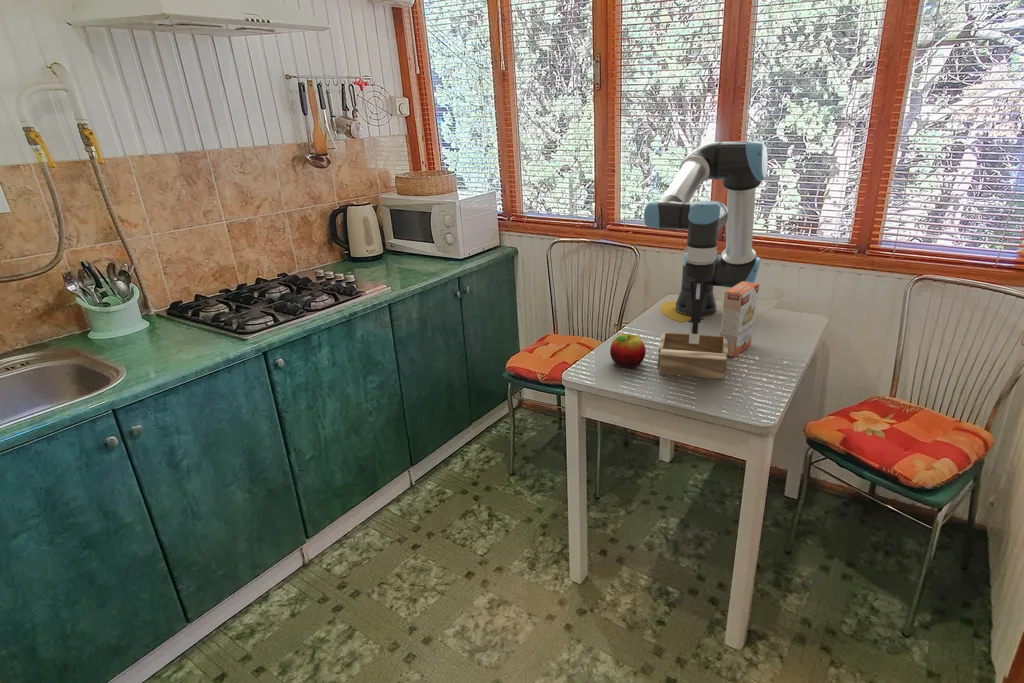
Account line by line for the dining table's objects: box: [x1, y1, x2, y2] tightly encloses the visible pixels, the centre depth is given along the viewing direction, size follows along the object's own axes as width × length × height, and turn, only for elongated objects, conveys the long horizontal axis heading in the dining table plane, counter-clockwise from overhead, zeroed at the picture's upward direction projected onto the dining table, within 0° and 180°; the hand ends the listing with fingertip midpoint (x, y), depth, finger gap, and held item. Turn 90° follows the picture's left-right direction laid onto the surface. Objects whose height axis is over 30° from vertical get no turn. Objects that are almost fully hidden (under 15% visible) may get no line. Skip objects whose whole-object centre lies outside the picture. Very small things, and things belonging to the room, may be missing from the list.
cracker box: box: [719, 281, 760, 358], centre depth 179 cm, size 14×6×21 cm, turn 138°
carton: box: [657, 331, 729, 381], centre depth 170 cm, size 14×19×8 cm
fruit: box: [609, 333, 647, 369], centre depth 174 cm, size 11×11×10 cm
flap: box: [660, 349, 728, 361], centre depth 159 cm, size 7×18×1 cm, turn 72°
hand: (693, 342), depth 160 cm, fingers closed
